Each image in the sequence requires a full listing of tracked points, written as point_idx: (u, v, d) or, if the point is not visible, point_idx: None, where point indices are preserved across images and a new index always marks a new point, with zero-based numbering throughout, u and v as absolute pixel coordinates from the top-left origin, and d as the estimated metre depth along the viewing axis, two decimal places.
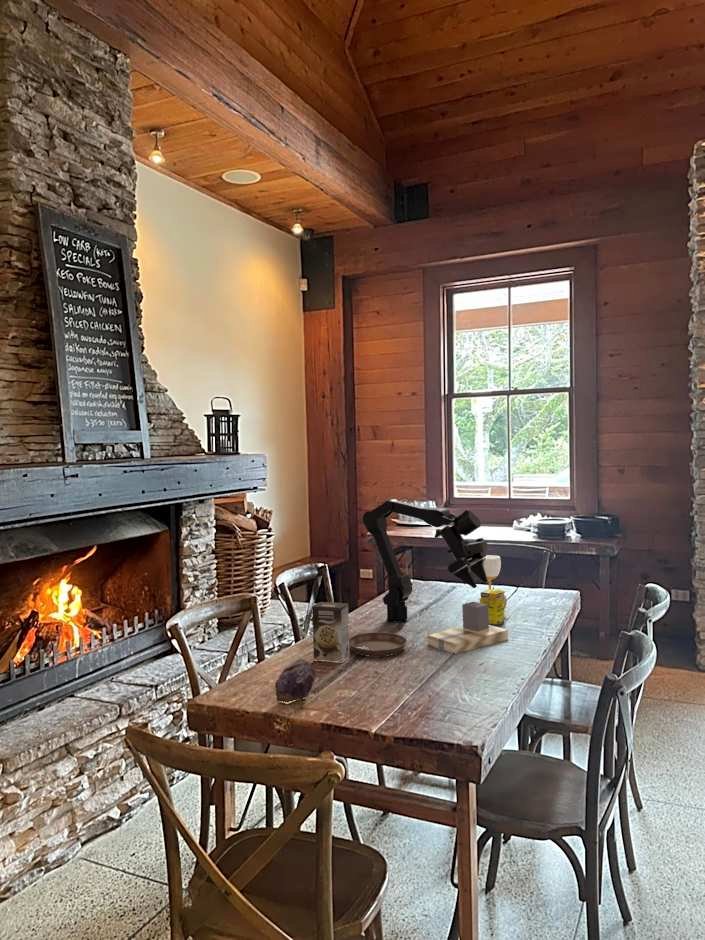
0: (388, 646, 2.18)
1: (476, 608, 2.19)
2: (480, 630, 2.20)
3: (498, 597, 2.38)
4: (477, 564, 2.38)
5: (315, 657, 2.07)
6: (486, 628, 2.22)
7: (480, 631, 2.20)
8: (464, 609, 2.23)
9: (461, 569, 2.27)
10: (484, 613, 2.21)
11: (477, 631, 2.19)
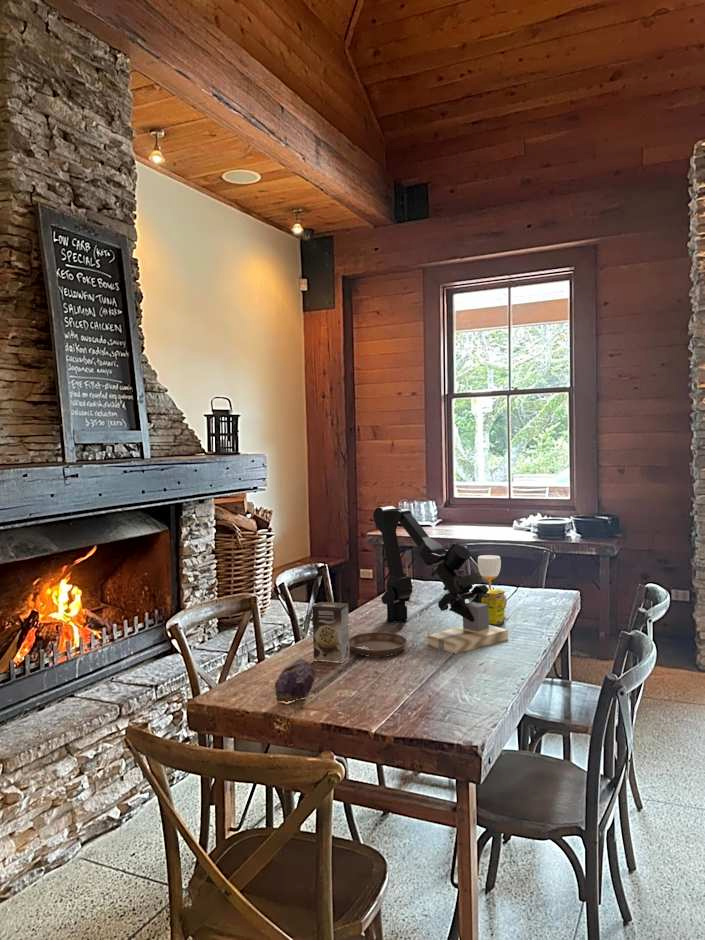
0: (388, 646, 2.18)
1: (476, 608, 2.19)
2: (480, 630, 2.20)
3: (498, 597, 2.38)
4: (474, 600, 2.27)
5: (315, 657, 2.07)
6: (486, 628, 2.22)
7: (480, 631, 2.20)
8: None
9: (454, 603, 2.21)
10: (484, 613, 2.21)
11: (477, 631, 2.19)
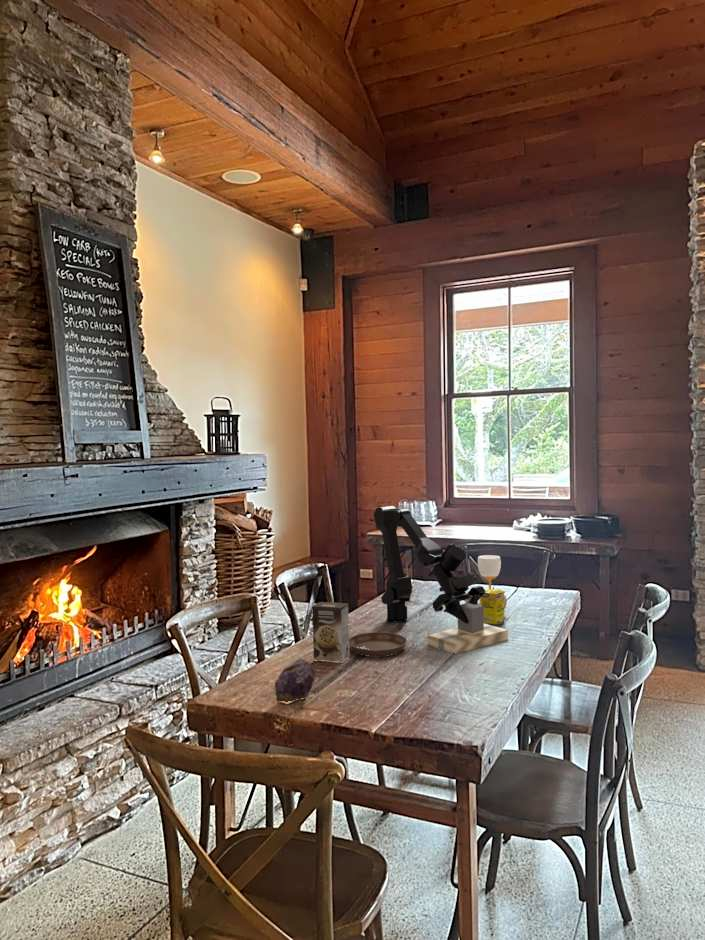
0: (388, 646, 2.18)
1: (470, 609, 2.18)
2: (474, 632, 2.18)
3: (498, 597, 2.38)
4: (470, 601, 2.25)
5: (315, 657, 2.07)
6: (481, 630, 2.20)
7: (474, 633, 2.18)
8: None
9: (449, 604, 2.20)
10: (479, 614, 2.19)
11: (471, 632, 2.18)
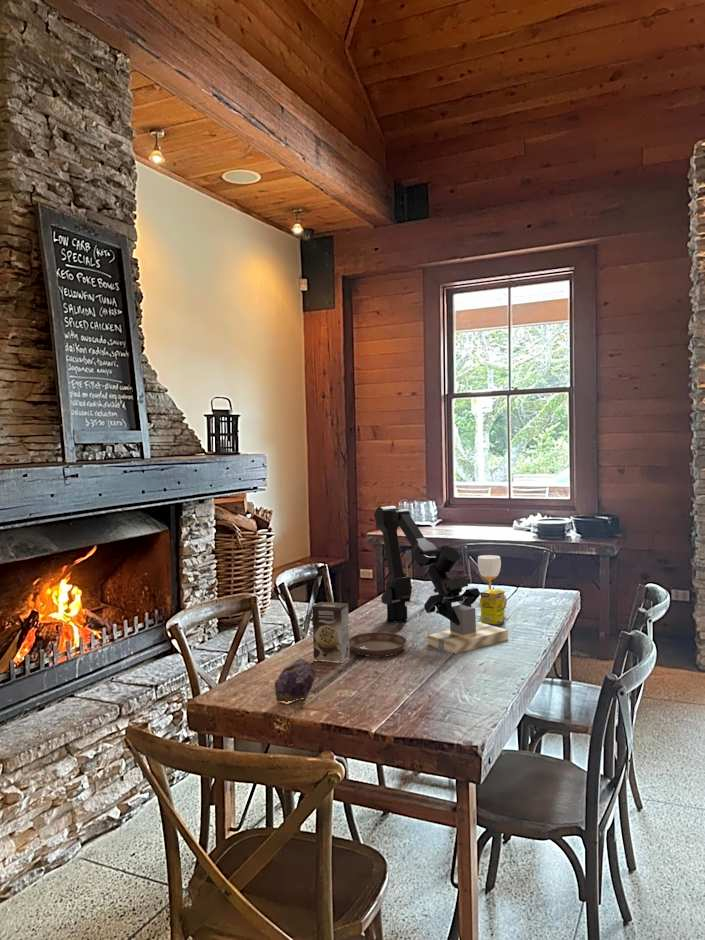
0: (388, 646, 2.18)
1: (461, 611, 2.16)
2: (465, 634, 2.16)
3: (498, 597, 2.38)
4: (464, 603, 2.23)
5: (315, 657, 2.07)
6: (473, 632, 2.18)
7: (465, 635, 2.16)
8: None
9: (440, 606, 2.19)
10: (470, 616, 2.17)
11: (462, 634, 2.16)
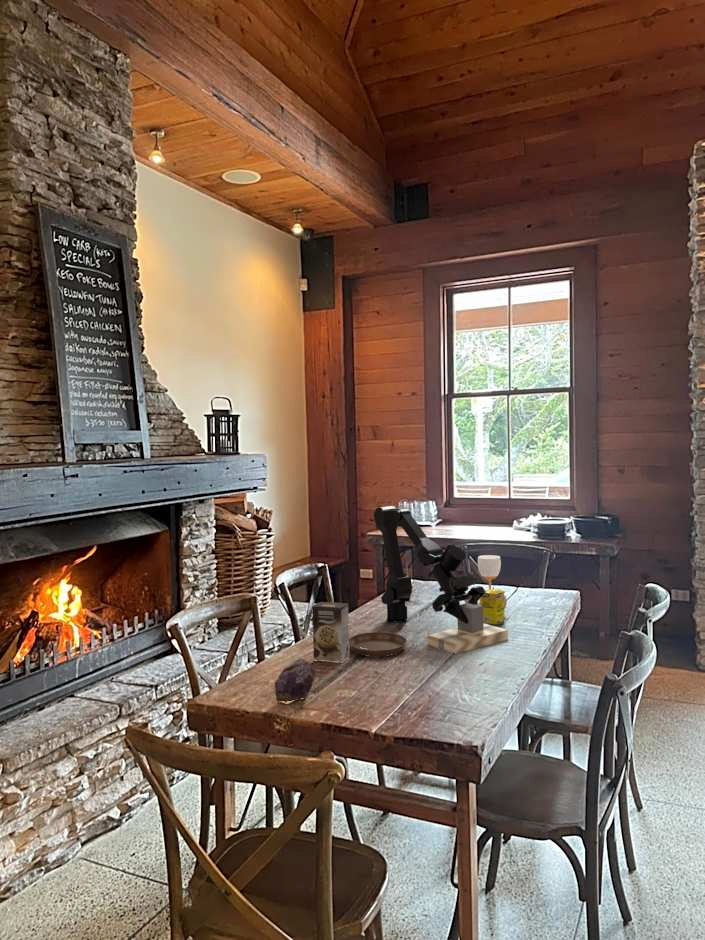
0: (388, 646, 2.18)
1: (470, 609, 2.18)
2: (474, 632, 2.18)
3: (498, 597, 2.38)
4: (470, 602, 2.25)
5: (315, 657, 2.07)
6: (481, 630, 2.20)
7: (474, 633, 2.18)
8: None
9: (448, 604, 2.20)
10: (479, 614, 2.19)
11: (471, 633, 2.18)
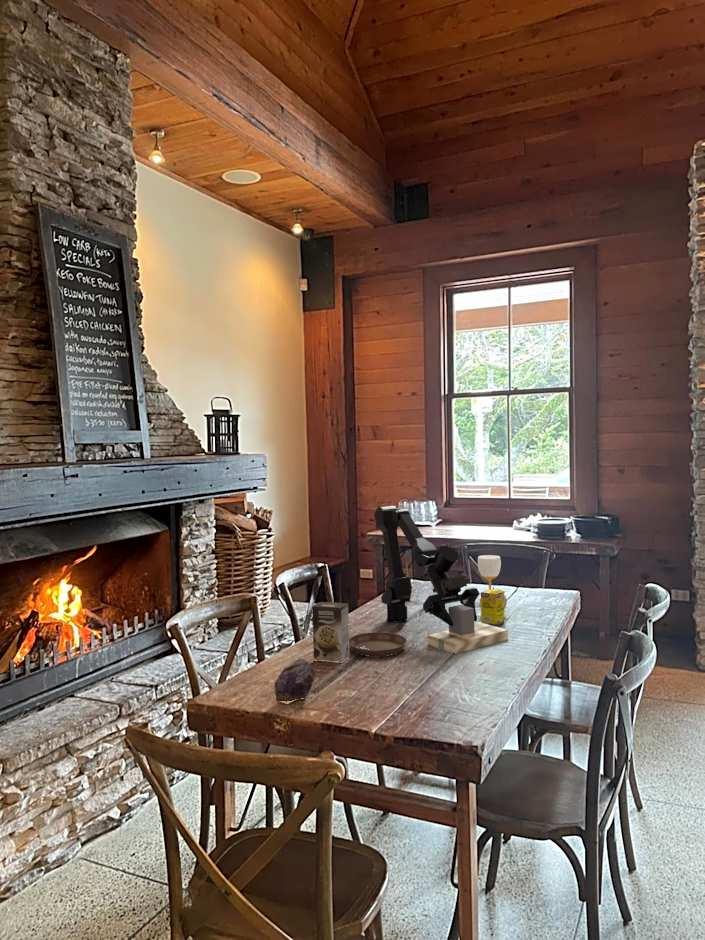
0: (388, 646, 2.18)
1: (459, 611, 2.16)
2: (464, 634, 2.16)
3: (498, 597, 2.38)
4: (468, 602, 2.24)
5: (315, 657, 2.07)
6: (471, 632, 2.18)
7: (464, 635, 2.16)
8: (450, 612, 2.20)
9: (433, 606, 2.17)
10: (469, 616, 2.17)
11: (460, 635, 2.16)
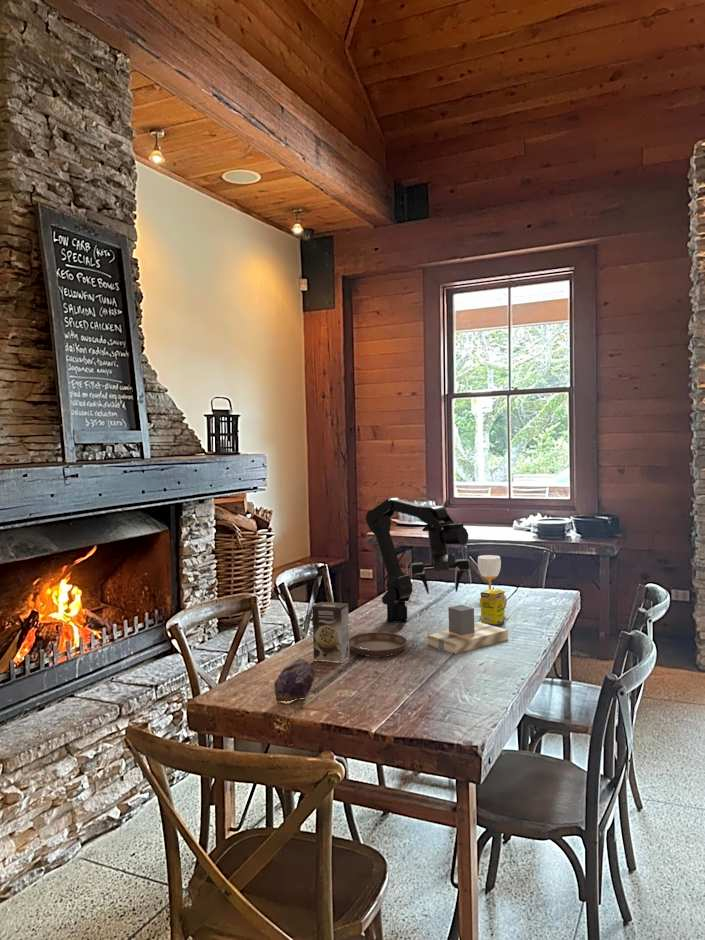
0: (388, 646, 2.18)
1: (459, 611, 2.16)
2: (464, 634, 2.16)
3: (498, 597, 2.38)
4: (456, 572, 2.35)
5: (315, 657, 2.07)
6: (471, 632, 2.18)
7: (464, 635, 2.16)
8: (450, 612, 2.20)
9: None
10: (469, 616, 2.17)
11: (460, 635, 2.16)
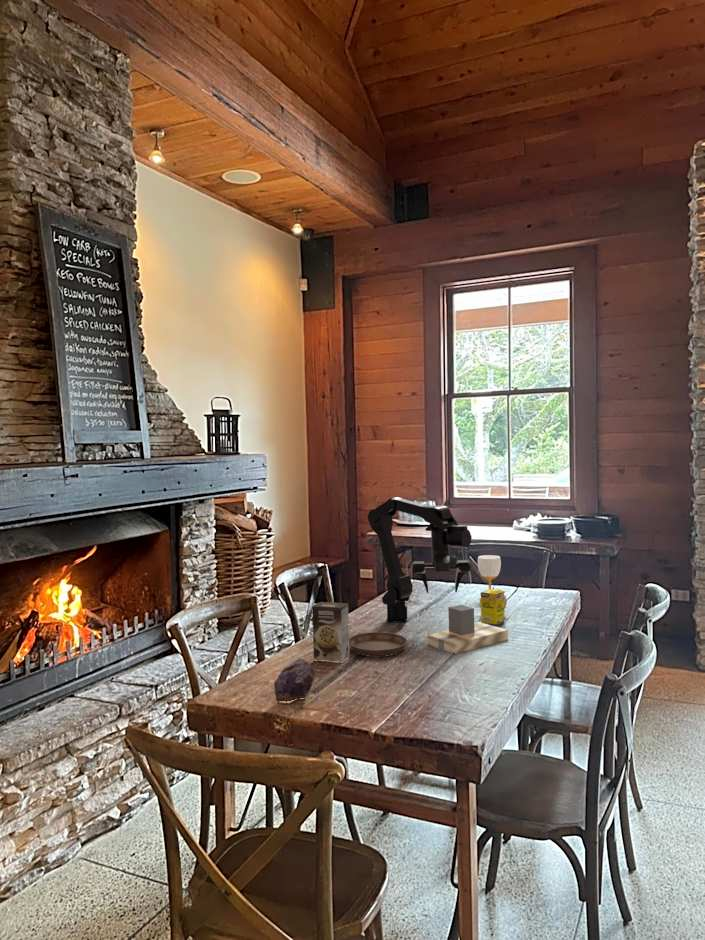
0: (388, 646, 2.18)
1: (459, 611, 2.16)
2: (464, 634, 2.16)
3: (498, 597, 2.38)
4: (456, 573, 2.35)
5: (315, 657, 2.07)
6: (471, 632, 2.18)
7: (464, 635, 2.16)
8: (450, 612, 2.20)
9: (416, 572, 2.35)
10: (469, 616, 2.17)
11: (460, 635, 2.16)
